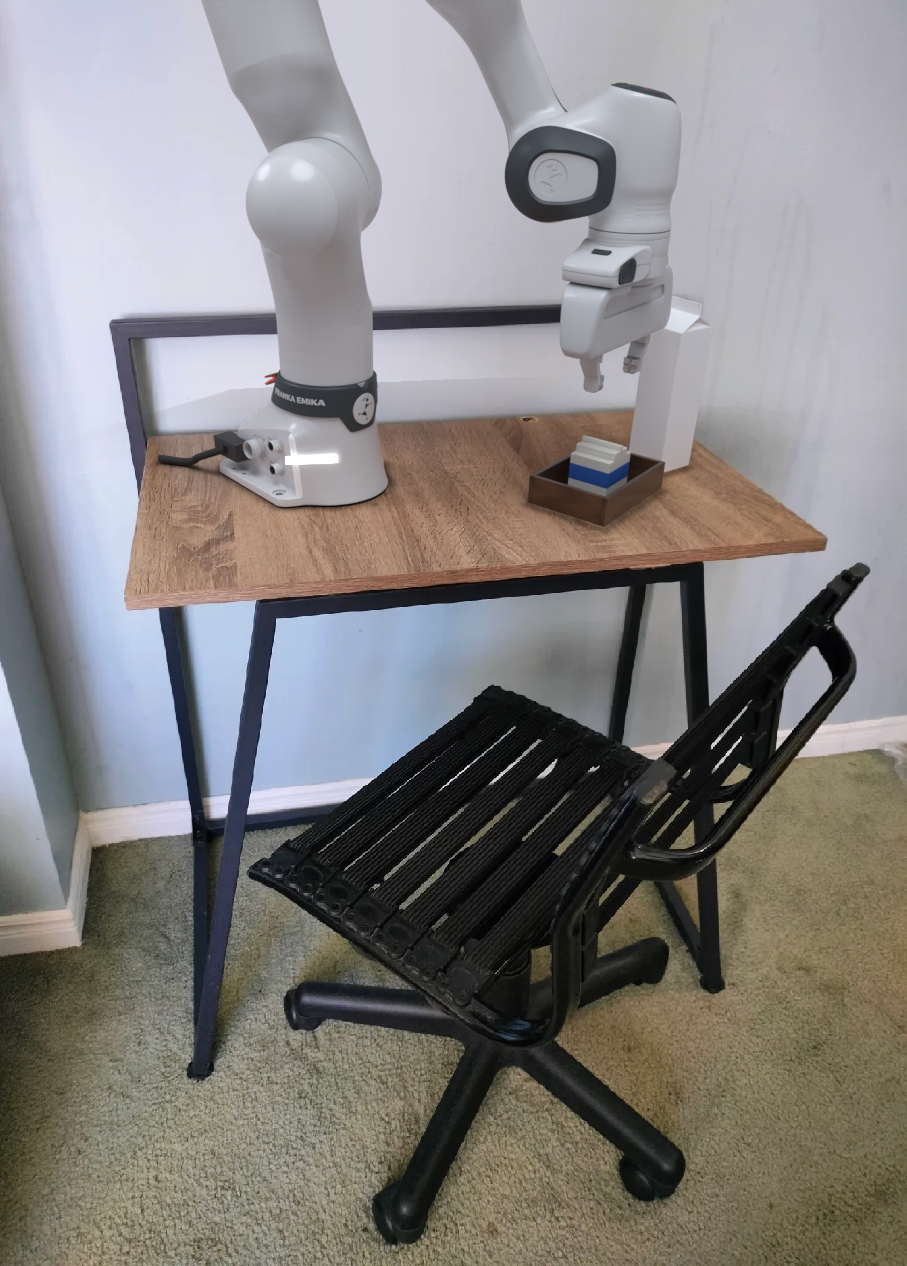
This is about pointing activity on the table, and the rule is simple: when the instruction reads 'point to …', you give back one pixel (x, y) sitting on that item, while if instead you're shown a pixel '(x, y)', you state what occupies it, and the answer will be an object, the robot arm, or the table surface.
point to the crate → (588, 506)
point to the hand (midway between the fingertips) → (612, 381)
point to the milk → (671, 386)
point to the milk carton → (598, 466)
